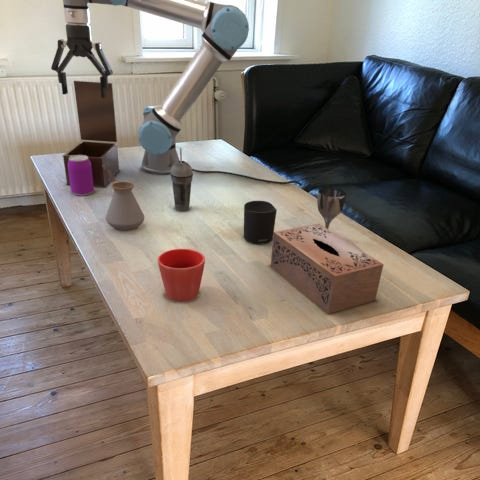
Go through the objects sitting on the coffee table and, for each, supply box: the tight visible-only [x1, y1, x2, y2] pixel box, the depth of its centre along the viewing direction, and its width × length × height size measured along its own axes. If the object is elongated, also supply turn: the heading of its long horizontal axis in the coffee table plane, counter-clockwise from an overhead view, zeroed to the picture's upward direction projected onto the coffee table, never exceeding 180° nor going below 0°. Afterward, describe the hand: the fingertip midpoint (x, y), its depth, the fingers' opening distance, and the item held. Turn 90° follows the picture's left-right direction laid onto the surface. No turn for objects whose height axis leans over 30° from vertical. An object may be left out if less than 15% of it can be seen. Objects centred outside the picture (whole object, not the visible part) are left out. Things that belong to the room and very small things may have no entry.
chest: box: [62, 140, 120, 188], centre depth 187 cm, size 19×14×10 cm
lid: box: [73, 80, 118, 143], centre depth 189 cm, size 20×14×7 cm
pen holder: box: [243, 200, 278, 245], centre depth 150 cm, size 9×9×10 cm
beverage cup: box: [169, 147, 194, 212], centre depth 164 cm, size 7×7×20 cm
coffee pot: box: [102, 163, 145, 232], centre depth 154 cm, size 21×12×15 cm, turn 30°
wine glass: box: [316, 186, 347, 230], centre depth 149 cm, size 8×8×15 cm
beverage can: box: [68, 155, 95, 197], centre depth 174 cm, size 8×8×12 cm
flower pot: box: [157, 248, 206, 303], centre depth 121 cm, size 11×11×10 cm
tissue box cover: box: [270, 223, 384, 315], centre depth 129 cm, size 26×14×10 cm, turn 29°
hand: (84, 95), depth 175 cm, fingers open, 13 cm apart
